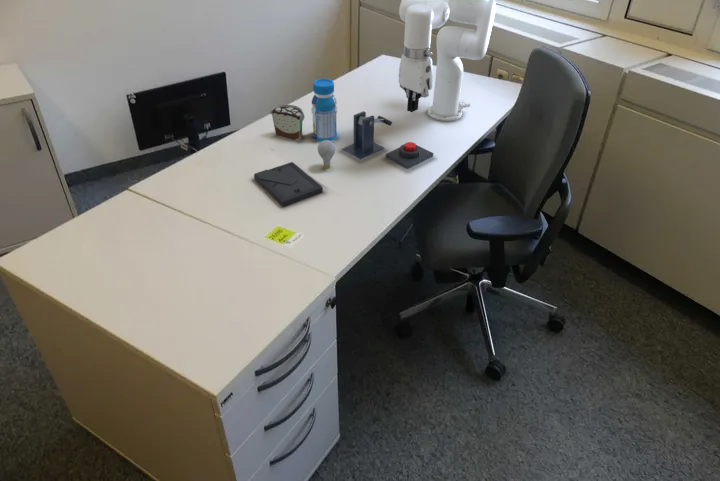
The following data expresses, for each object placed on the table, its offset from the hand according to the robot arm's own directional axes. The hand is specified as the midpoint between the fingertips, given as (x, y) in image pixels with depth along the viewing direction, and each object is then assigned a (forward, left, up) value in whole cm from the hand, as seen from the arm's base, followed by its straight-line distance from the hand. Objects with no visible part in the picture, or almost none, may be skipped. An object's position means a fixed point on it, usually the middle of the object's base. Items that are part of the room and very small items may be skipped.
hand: (412, 110), depth 168 cm
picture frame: (+42, +4, -16) cm, 45 cm away
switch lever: (+9, -10, -8) cm, 15 cm away
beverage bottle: (+22, -21, -16) cm, 35 cm away
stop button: (+1, +2, -13) cm, 13 cm away
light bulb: (+28, -1, -16) cm, 32 cm away
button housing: (+1, +2, -16) cm, 16 cm away
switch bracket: (+13, -8, -16) cm, 22 cm away
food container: (+32, -27, -16) cm, 45 cm away
